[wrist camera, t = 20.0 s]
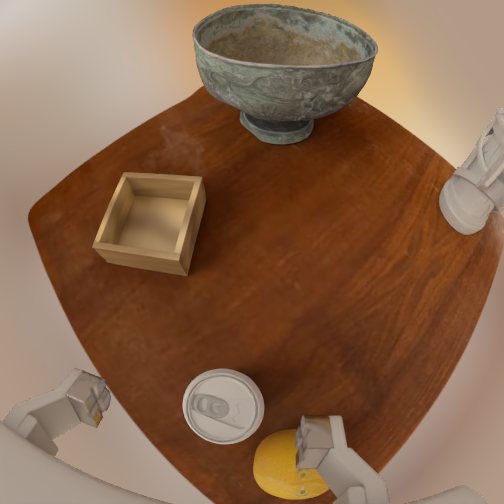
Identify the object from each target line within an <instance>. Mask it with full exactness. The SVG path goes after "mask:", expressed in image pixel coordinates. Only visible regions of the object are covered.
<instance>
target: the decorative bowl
mask: <svg viewBox="0 0 504 504" xmlns="http://www.w3.org/2000/svg"><path fill="white" fill-rule="evenodd" d="M193 40H194V46H195V52H196V63H197V67H198V71H199V74H200V77H201V79H202V82H203V84H204V86H205V88H206V89H207V91H208V92H209V93H210V94H211V95H212V96H213V97H215V98H216V99H218V100H219V101H221V102H224V103H226V104H228V105H230V106H232V107H235V108H237V109H239V110H241V114H240V122H241V124H242V125H243V126H244V127H246V128H247V129H248V130H249V131H250V132H251V133H253V134H254V135H255V136H256V137H257V138H258V139H259V140H261V141H263V142H267V143H272V144H290V143H296V142H299V141H302V140H304V139H306V138H307V137H308V136H309V135H310V134H311V132H312V130H313V125H314V121H313V119H317V118H321V117H325V116H328V115H330V114H333V113H335V112H337V111H339V110H341V109H342V108H344V107H345V106H347V105H348V104H350V103H351V102H352V101H353V100H354V99H355V98H356V97H357V95H358V94H359V92H360V91H361V89H362V88H363V87H364V85H365V84H366V82H367V80H368V78H369V76H370V74H371V71H372V67H373V62H374V58H375V56H376V54H377V52H378V46H377V44H376V42H375V41H374V40H373V39H372V38H371V37H370V36H369V35H368V34H367V33H366V32H364V31H363V30H361V29H360V28H358V27H356V26H355V25H353V24H351V23H349V22H348V21H345V20H344V19H341V18H338V17H336V16H331V15H330V14H325V13H322V12H316V11H314V10H310V9H303V8H297V7H294V6H286V5H285V6H282V5H278V4H248V5H238V6H233V7H228V8H224V9H222V10H219V11H217V12H215V13H213V14H211V15H209V16H207V17H205V18H204V19H203V20H201V21H200V22H199V23H198V24H197V25H196V26H195V27H194V29H193Z"/></svg>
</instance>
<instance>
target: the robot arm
mask: <svg viewBox="0 0 504 504" xmlns="http://www.w3.org/2000/svg"><path fill="white" fill-rule="evenodd" d="M106 385H107V383H106V381H105V379H103V378H101V377H98V376H95V375H92V374H90V373H87V372H85V371H82V370H80V369H77V368H74V369H73V370H72V371H71V372H70V373H69V374H68V376H67V377H66V378H65V379H64V381H63V382H62V384H61V385H60V386H59V387H58V389H57V390H51V391H49V392H47V393H44V394H41V395H39V396H36V397H34V398H31V399H28V400H26V401H23V402H21V403H18V404H16V405H15V406H14V407H13V408H12V410H11V411H10V412H9V414H8V415H7V416H6V418H5V419H4V420H3V421H0V504H171V503H167V502H163V501H160V500H156V499H153V498H149V497H146V496H143V495H140V494H137V493H134V492H131V491H128V490H125V489H122V488H120V487H118V486H114V485H112V484H110V483H107V482H105V481H103V480H100V479H98V478H96V477H93V476H91V475H89V474H87V473H85V472H83V471H81V470H79V469H76V468H75V467H73V466H71V465H69V464H67V463H65V462H63V461H61V460H59V459H58V458H56V457H55V455H56V453H57V452H58V448H57V446H56V445H55V444H54V442H53V441H52V440H53V439H55V438H56V437H58V436H60V435H61V434H63V433H65V432H66V431H68V430H70V429H71V428H73V427H75V426H76V425H78V424H80V423H81V422H83V423H86V424H88V425H91V426H93V427H96V428H97V426H98V425H99V423H100V421H101V420H102V418H103V416H102V412H104V411H106V410H107V409H108V407H109V405H110V400H111V396H110V393H109V390H108V389H107V388H106ZM295 447H296V448H297V449H298V451H297V453H296V455H295V456H296V468H299V469H316V470H317V471H318V473H319V474H320V476H321V477H322V478H323V480H324V481H325V482H326V484H327V485H328V486H329V488H330V489H331V490H332V492H333V493H334V494H335V495H336V497H337V498H338V499H337V500H335V501H334V502H333V503H332V504H390V500H389V495H388V490H387V485H386V481H385V480H384V479H383V478H382V477H380V475H379V474H377V473H376V472H375V471H374V470H373V469H372V468H371V467H370V466H369V465H368V464H367V463H366V462H365V461H364V460H363V459H362V458H361V457H360V456H359V455H358V454H357V453H356V452H355V451H354V450H353V449H352V448H347V442H346V437H345V431H344V426H343V421H342V417H341V416H327V415H303V416H302V419H301V425H300V426H298V428H297V432H296V437H295ZM405 504H488V503H487V500H486V499H485V498H484V497H483V496H482V495H480V494H479V493H477V492H476V491H474V490H472V489H471V488H469V487H467V486H464V485H461V486H457V487H455V488H452V489H450V490H447V491H444V492H441V493H438V494H436V495H433V496H429V497H426V498H423V499H420V500H416V501H413V502H409V503H405Z"/></svg>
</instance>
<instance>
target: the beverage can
mask: <svg viewBox="0 0 504 504" xmlns="http://www.w3.org/2000/svg"><path fill="white" fill-rule="evenodd" d="M183 412H184V416H185V419H186V421H187V423H188V425H189V426H190V427H191V429H192V430H193V431H194V432H195V433H196V434H197V435H199V436H200V437H202V438H203V439H205V440H207V441H210V442H213V443H218V444H233V443H237V442H240V441H242V440H245V439H246V438H248V437H249V436H251V435H252V434H253V433H254V432H255V431H256V430H257V428H258V427H259V425H260V423H261V421H262V419H263V415H264V401H263V397H262V394H261V392H260V390H259V388H258V387H257V386H256V384H255V383H254V382H253V381H252V379H251V378H250V377H248V376H247V375H245V374H243V373H241V372H238V371H234V370H230V369H213V370H210V371H207V372H205V373H202V374H201V375H199V376H198V377H196V378H195V379H194V380H193V381H192V382H191V383H190V385H189V386H188V388H187V389H186V392H185V394H184V398H183Z"/></svg>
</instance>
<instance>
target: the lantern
mask: <svg viewBox="0 0 504 504" xmlns="http://www.w3.org/2000/svg"><path fill="white" fill-rule="evenodd" d="M489 134H492V135H491V136H490V137H489V139H488V140H487V142H486V143H485V144H484V146H483V147H482V145H483V140H484V138H485V137H486V136H487V135H489ZM439 204H440V208H441V211H442V213H443V215H444V217H445V219H446V220H447V221H448V223H449V224H450V225H451V226H452V227H453V228H454V229H455V230H457V231H458V232H460V233H462V234H465V235H469V234H473V233H476V232H477V231H479V230H481V229H482V228H483V227H484V226H485V223H486V220H487V219H488V217H489V213H490V212H491V211H492V212H494V213H497V214H499V213H500V212H501V211H502V210H503V209H504V109H503V108H501V107H500V108H499V109H498V111H497V112H496V115H495V117H494V118H493V120H492V121H491V123H490V124H489V126H488V127H487V129H486V130H485V131H484V132H483V133H482V135H481V137H480V138H479V140H478V142H477V144H476V147H475V148H474V150H473V151H472V153H471V154H470V155H469V157H468V158H467V159H466V161H465V162H464V163H463V165H462V166H461V167H458V168H457V169H456V171H455V172H454V173H453V174H452V177H451V178H450V179H449V181H447V182H446V183H445V185H444V187H443V189H442V190H441V193H440V196H439Z"/></svg>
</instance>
